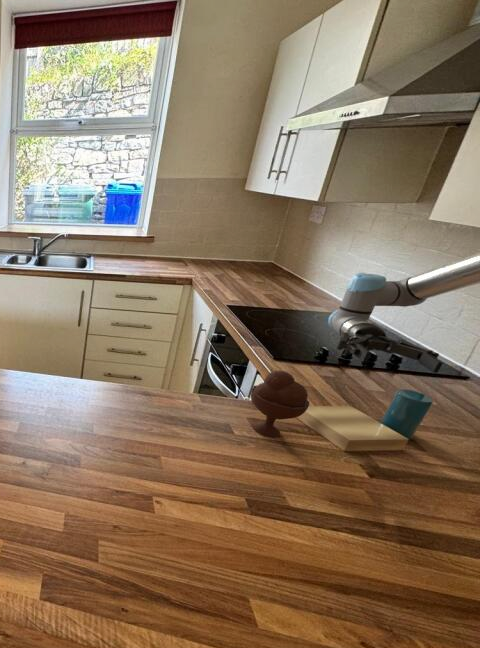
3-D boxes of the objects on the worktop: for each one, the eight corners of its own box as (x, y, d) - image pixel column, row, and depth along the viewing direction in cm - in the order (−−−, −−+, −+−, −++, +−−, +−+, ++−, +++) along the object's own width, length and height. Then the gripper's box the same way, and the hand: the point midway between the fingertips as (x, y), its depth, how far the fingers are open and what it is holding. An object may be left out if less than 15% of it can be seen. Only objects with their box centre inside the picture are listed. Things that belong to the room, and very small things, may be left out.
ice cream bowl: (235, 431, 95) (255, 374, 89) (245, 412, 102) (264, 359, 96) (290, 451, 88) (316, 391, 82) (296, 430, 96) (320, 374, 90)
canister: (420, 438, 94) (441, 402, 90) (396, 439, 93) (417, 402, 89) (393, 424, 99) (413, 388, 95) (371, 424, 99) (389, 389, 95)
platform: (402, 450, 90) (409, 439, 88) (344, 451, 89) (349, 440, 87) (345, 415, 102) (350, 405, 101) (293, 416, 101) (297, 406, 100)
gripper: (412, 354, 114) (461, 386, 96) (306, 339, 123) (333, 366, 105) (425, 329, 111) (478, 357, 93) (315, 316, 120) (344, 340, 102)
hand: (401, 362), depth 99 cm, fingers open, 13 cm apart
